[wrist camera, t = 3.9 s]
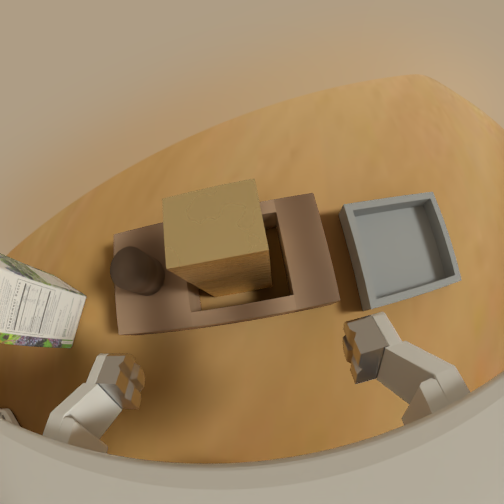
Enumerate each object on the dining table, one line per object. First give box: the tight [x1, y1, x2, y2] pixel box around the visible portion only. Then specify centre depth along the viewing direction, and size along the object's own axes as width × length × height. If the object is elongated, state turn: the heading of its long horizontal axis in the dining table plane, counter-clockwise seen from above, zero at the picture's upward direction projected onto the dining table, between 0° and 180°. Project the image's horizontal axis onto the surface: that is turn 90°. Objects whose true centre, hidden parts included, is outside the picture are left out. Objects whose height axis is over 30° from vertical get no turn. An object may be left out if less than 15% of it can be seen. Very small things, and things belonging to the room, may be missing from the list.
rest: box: [339, 192, 461, 311], centre depth 20 cm, size 9×8×2 cm
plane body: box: [110, 193, 340, 335], centre depth 19 cm, size 16×8×6 cm, turn 100°
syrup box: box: [0, 254, 86, 348], centre depth 15 cm, size 6×6×14 cm
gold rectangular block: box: [162, 179, 272, 297], centre depth 17 cm, size 4×4×10 cm
